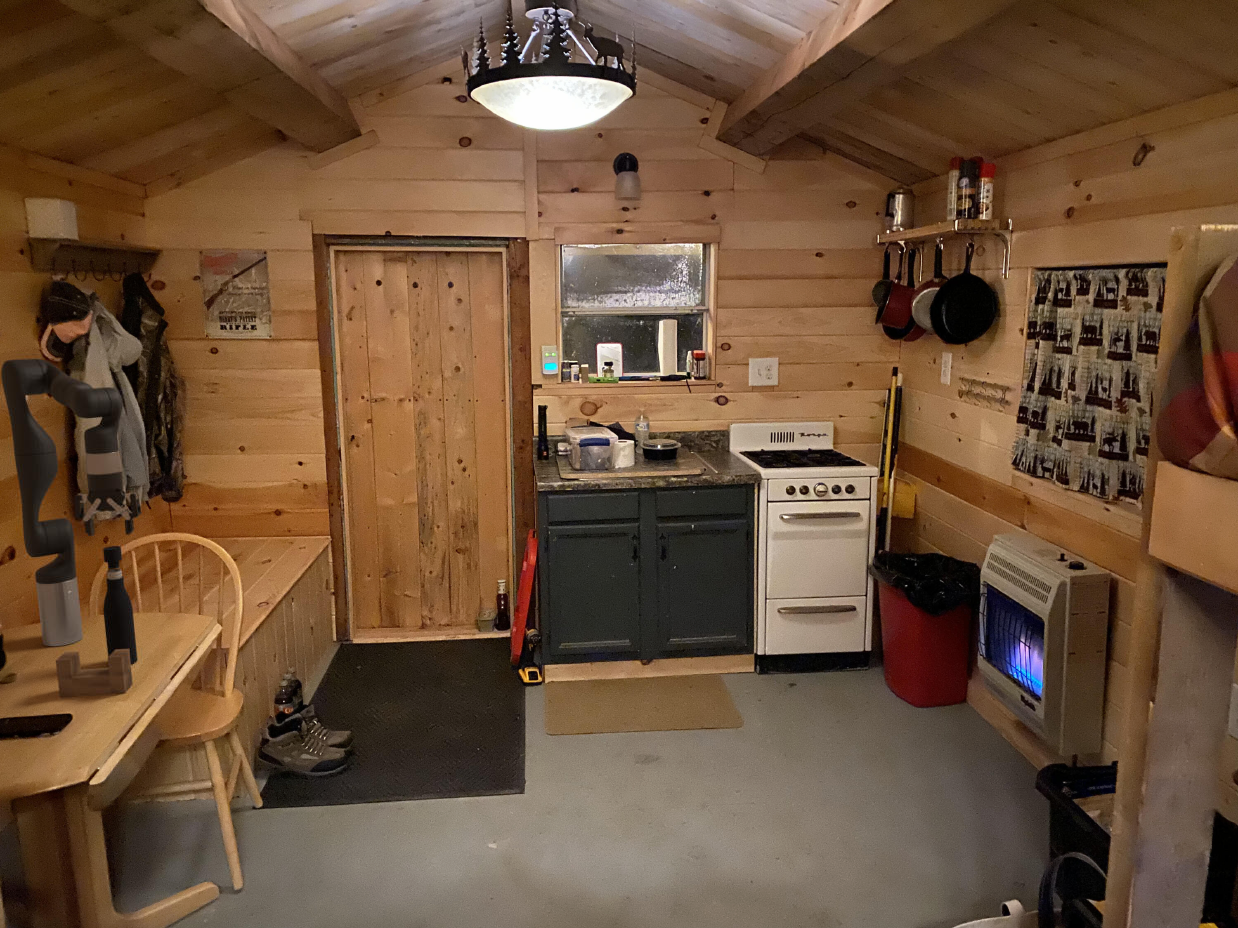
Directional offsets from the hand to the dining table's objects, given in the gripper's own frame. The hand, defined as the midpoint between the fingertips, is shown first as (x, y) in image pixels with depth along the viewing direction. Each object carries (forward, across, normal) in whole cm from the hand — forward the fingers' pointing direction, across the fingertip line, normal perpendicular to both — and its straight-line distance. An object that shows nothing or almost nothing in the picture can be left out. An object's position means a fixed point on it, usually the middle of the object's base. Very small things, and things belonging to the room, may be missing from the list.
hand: (110, 534), depth 222 cm
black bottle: (+34, 0, 0) cm, 34 cm away
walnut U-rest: (+33, 0, -17) cm, 38 cm away
